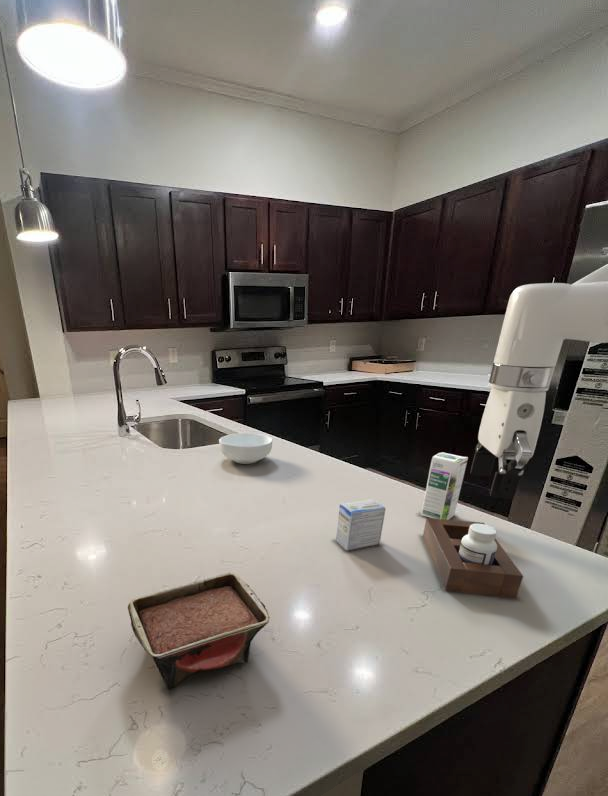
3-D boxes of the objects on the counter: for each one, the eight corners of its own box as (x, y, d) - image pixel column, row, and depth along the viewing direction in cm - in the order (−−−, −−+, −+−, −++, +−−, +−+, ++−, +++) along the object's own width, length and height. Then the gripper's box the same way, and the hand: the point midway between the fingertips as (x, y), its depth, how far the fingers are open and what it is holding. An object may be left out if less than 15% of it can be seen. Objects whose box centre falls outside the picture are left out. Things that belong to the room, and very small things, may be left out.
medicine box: (367, 535, 89) (372, 498, 86) (380, 545, 85) (386, 506, 82) (334, 541, 87) (338, 503, 84) (346, 551, 83) (351, 512, 80)
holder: (478, 542, 86) (483, 522, 84) (515, 598, 69) (523, 576, 67) (422, 536, 88) (426, 517, 87) (445, 590, 71) (450, 568, 70)
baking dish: (269, 681, 57) (280, 617, 54) (137, 705, 50) (141, 633, 47) (231, 621, 69) (238, 566, 67) (121, 634, 63) (124, 574, 60)
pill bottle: (473, 566, 78) (485, 520, 74) (494, 583, 73) (509, 534, 69) (446, 569, 77) (458, 522, 73) (467, 586, 72) (480, 537, 68)
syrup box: (419, 515, 98) (431, 456, 92) (430, 508, 101) (442, 450, 95) (444, 523, 94) (458, 462, 88) (455, 515, 97) (469, 456, 92)
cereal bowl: (278, 455, 139) (279, 435, 137) (261, 471, 126) (262, 449, 123) (231, 450, 146) (231, 430, 143) (210, 464, 132) (210, 443, 129)
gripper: (580, 388, 53) (540, 510, 60) (523, 371, 68) (496, 469, 75) (514, 386, 54) (482, 505, 61) (473, 369, 70) (451, 466, 77)
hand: (490, 485), depth 68 cm, fingers open, 9 cm apart
